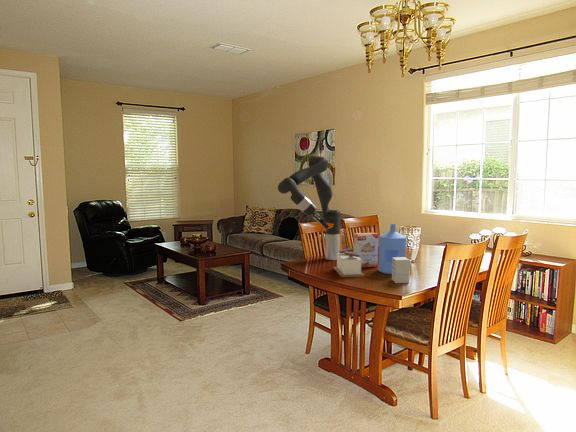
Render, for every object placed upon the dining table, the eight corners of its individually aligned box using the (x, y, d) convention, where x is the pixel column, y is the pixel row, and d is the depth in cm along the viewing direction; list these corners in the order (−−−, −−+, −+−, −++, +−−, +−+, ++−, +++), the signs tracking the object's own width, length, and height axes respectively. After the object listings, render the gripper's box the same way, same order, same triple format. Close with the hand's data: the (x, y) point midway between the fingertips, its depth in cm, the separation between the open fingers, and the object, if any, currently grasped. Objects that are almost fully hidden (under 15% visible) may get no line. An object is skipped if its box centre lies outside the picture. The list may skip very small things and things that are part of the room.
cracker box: (357, 268, 256) (357, 234, 254) (353, 266, 262) (353, 233, 259) (378, 266, 260) (378, 233, 257) (373, 264, 265) (374, 232, 263)
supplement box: (404, 279, 230) (405, 256, 228) (409, 283, 222) (409, 259, 221) (391, 279, 229) (392, 256, 228) (395, 283, 222) (396, 259, 221)
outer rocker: (343, 255, 241) (344, 251, 240) (356, 257, 241) (357, 253, 241) (344, 256, 237) (345, 252, 236) (358, 259, 237) (359, 255, 237)
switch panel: (334, 268, 255) (334, 250, 254) (355, 268, 257) (355, 250, 255) (341, 277, 235) (341, 257, 233) (364, 276, 236) (364, 257, 235)
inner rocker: (339, 254, 252) (338, 250, 251) (352, 251, 252) (351, 247, 252) (341, 255, 248) (340, 251, 247) (354, 252, 248) (353, 248, 248)
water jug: (373, 269, 252) (374, 223, 249) (395, 267, 258) (396, 222, 255) (388, 275, 238) (389, 226, 235) (411, 273, 243) (412, 225, 240)
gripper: (313, 202, 231) (334, 224, 233) (309, 201, 244) (330, 221, 246) (303, 212, 231) (325, 234, 233) (300, 210, 244) (321, 230, 246)
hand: (327, 227), depth 240 cm, fingers closed
